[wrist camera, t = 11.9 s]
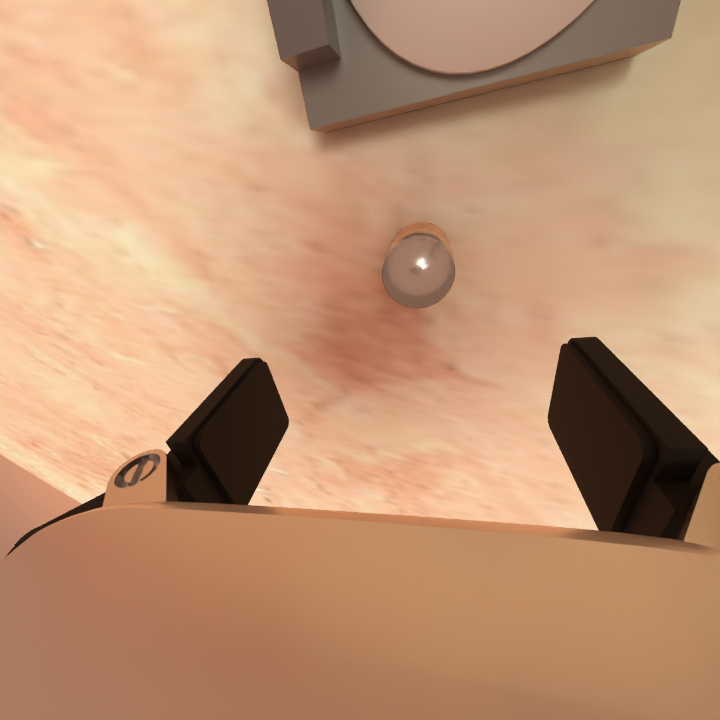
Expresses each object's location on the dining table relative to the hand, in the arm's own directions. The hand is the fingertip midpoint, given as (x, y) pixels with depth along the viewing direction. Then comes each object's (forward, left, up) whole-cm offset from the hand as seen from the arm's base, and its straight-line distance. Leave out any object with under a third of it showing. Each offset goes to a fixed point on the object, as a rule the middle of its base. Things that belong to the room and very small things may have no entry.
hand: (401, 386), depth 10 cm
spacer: (0, 0, -16) cm, 16 cm away
